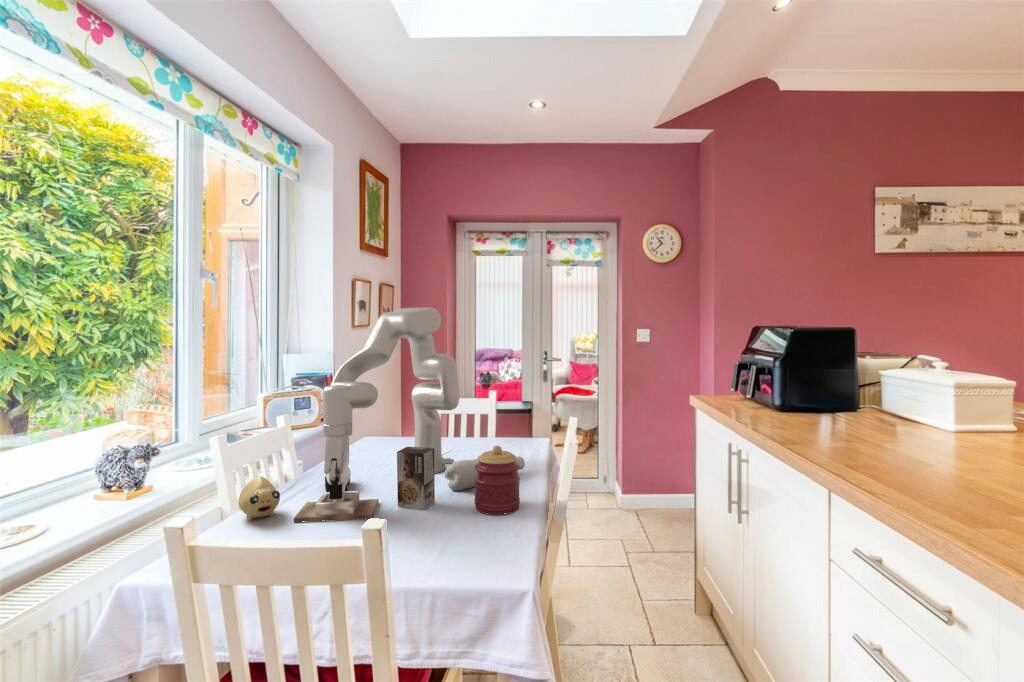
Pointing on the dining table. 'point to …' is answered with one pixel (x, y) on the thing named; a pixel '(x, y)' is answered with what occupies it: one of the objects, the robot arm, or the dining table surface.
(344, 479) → the lightbulb
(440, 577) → the dining table surface
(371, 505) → the socket board
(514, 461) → the canister
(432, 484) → the coffee box
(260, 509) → the golden cartoon creature figurine
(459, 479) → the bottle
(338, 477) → the robot arm
